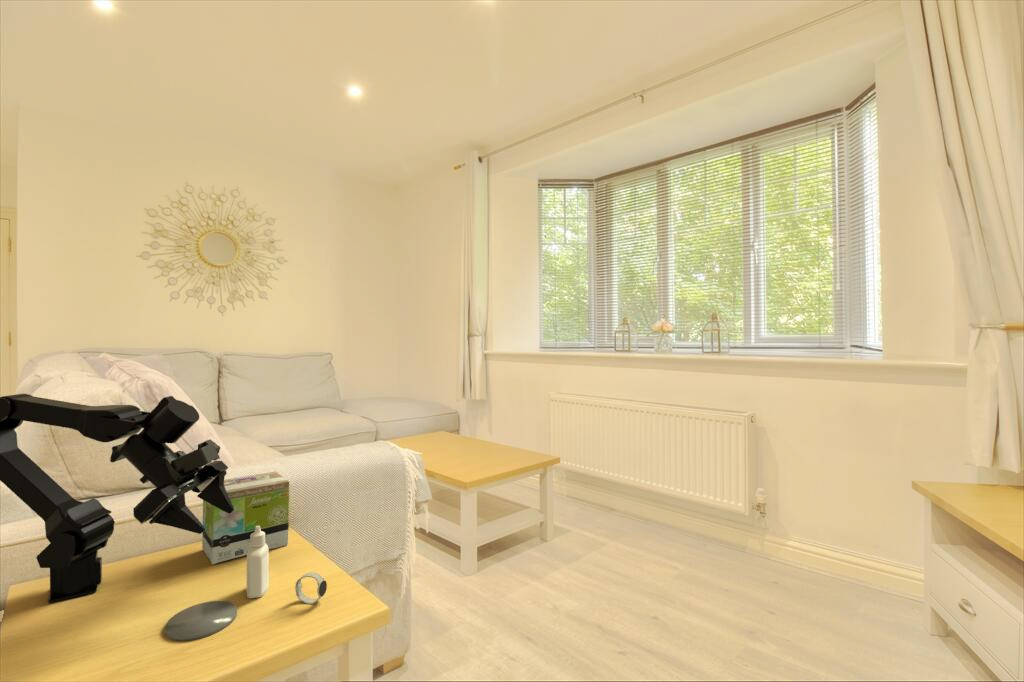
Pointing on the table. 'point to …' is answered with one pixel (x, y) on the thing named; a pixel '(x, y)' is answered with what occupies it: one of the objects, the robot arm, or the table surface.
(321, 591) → the wristwatch
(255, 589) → the eye dropper bottle
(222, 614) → the charcoal coaster
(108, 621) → the table surface
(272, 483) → the tea box
